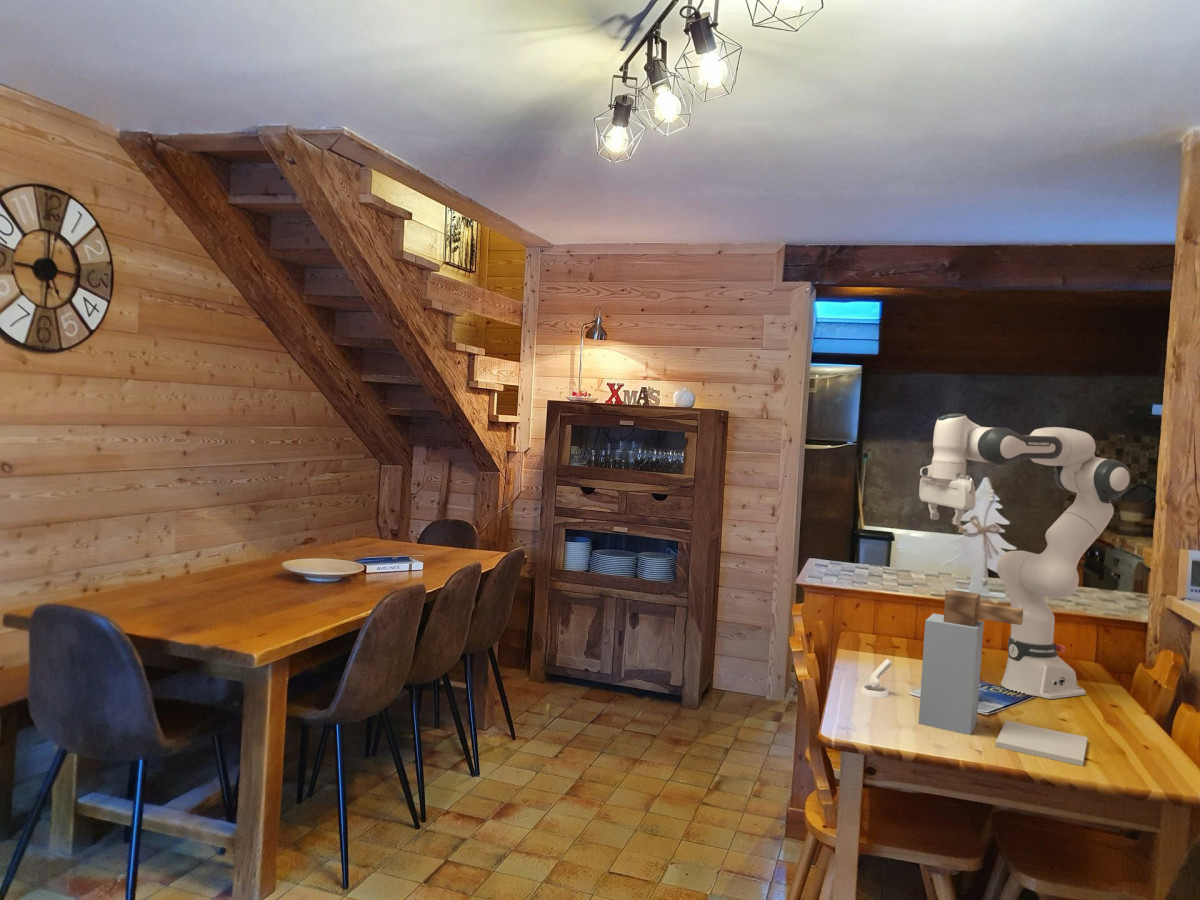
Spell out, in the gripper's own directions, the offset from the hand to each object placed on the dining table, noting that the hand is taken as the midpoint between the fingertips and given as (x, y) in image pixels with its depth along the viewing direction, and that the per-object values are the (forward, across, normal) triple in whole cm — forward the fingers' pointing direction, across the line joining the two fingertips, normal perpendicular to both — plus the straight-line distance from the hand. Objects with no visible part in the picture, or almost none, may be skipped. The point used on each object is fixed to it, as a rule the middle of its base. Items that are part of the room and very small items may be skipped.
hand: (945, 522), depth 243 cm
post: (+47, -24, +14) cm, 55 cm away
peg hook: (+21, -29, +9) cm, 36 cm away
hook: (+48, 0, +19) cm, 52 cm away
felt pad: (+47, -40, -1) cm, 62 cm away
